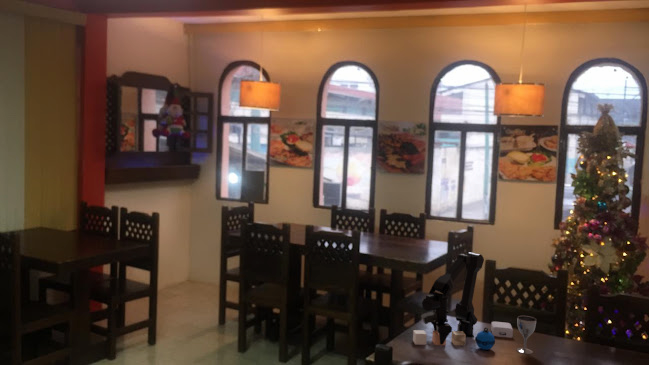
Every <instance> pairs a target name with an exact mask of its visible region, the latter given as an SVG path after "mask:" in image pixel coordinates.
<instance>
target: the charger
mask: <svg viewBox="0 0 649 365" xmlns="http://www.w3.org/2000/svg"><path fill="white" fill-rule="evenodd" d="M490 330H491V333H492V334H493V336H494V337H500V338H509V339H512V338H513V337H514V336H513V334H514V329H513V326H512V325H511V323H510V322H504V321H503V322H502V321H491V323H490Z"/></svg>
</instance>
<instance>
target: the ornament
mask: <svg viewBox="0 0 649 365" xmlns="http://www.w3.org/2000/svg"><path fill="white" fill-rule="evenodd" d="M474 337H475V339H474V341H475V343H476V345H477V347H478V348H479V349H481V350H483V351H488V350H490V349H493V347H494V346H495V344H496V338H495V336H493V334H492V332H490V331H489V328H488V327H484V328H483V330H481V331H479V332H478V333H477V334H476V336H474Z"/></svg>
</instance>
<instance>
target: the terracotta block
mask: <svg viewBox="0 0 649 365" xmlns="http://www.w3.org/2000/svg"><path fill="white" fill-rule="evenodd" d="M431 339H432V340H431V341H432V343H433V345H434V346H446V344H447V343H446V342H447V339H446V340H445V341H444V343H443V344H440V336H439V333H438V332H437V331H434V330H432V338H431Z"/></svg>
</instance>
